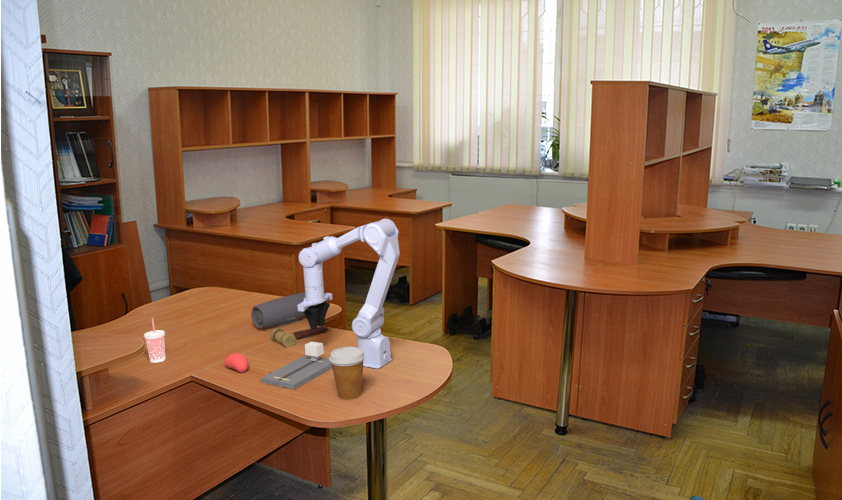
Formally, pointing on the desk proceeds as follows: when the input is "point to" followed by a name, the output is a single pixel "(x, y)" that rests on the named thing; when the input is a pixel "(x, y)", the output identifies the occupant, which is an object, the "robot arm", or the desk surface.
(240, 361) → the red kidney bean
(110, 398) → the desk surface
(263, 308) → the bluetooth speaker
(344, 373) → the disposable coffee cup
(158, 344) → the beverage cup
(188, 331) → the desk surface
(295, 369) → the grey slider base
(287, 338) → the gavel
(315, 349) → the fader
